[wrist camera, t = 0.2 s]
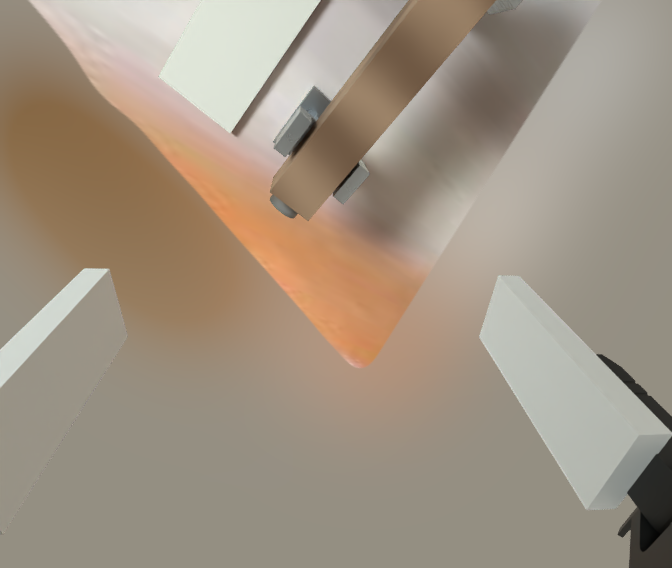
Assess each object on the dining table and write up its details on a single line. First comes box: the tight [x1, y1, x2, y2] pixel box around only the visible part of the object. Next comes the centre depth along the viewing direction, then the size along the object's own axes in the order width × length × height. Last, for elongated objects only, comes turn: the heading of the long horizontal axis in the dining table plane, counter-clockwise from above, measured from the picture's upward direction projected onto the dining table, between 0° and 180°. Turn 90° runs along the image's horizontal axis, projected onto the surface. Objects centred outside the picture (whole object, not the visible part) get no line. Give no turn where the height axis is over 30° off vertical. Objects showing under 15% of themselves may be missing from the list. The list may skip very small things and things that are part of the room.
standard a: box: [273, 86, 370, 204], centre depth 32 cm, size 6×6×10 cm
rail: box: [270, 0, 496, 221], centre depth 25 cm, size 26×4×4 cm, turn 139°
